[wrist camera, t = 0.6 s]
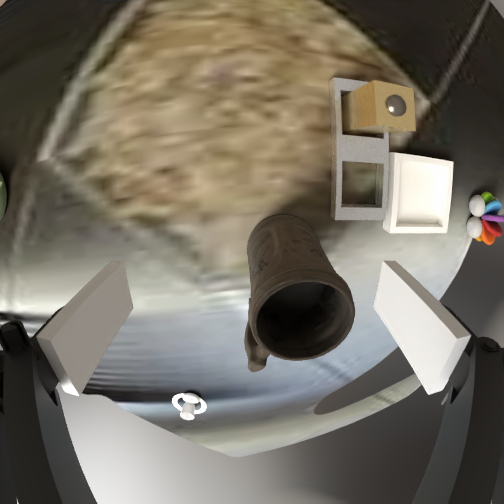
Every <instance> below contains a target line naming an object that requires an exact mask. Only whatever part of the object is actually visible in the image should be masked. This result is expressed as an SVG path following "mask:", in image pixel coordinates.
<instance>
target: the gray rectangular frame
mask: <svg viewBox="0 0 504 504" xmlns="http://www.w3.org/2000/svg"><path fill="white" fill-rule="evenodd" d="M367 83H369V82H364V81H358V80H351V79H343V78H335V77H334V78H332V79H331V80H330V81H329V92H330V112H331V156H332V169H331V213H330V216H331V217H332V218H333V219H335V220H385V219H386V208H387V193H388V170H389V133H380V134H377V138H372V137H362V136H351V135H342V116H341V95H340V94H346V95H347V94H348V93H350V92H352V91H354V90H356V89H358V88H359V87H361V86H363V85H365V84H367ZM342 161H352V162H367V163H377V166H376V193H375V205H372V204H341V201H342Z"/></svg>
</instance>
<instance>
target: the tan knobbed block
mask: <svg viewBox="0 0 504 504" xmlns="http://www.w3.org/2000/svg"><path fill="white" fill-rule="evenodd" d="M341 116H342V131H344V132H356V133H366V134H380V133H393V132H409V131H416V128H415V106H414V93H413V88H409V87H405V86H401V85H396V84H392V83H387V82H382V81H377V80H373V81H371V82H369V83H367V84H365V85H363V86H361V87H359V88H358V89H356V90H354V91H352V92H350V93H348V94H347V95H345V96H343V97H341Z"/></svg>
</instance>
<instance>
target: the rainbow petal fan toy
mask: <svg viewBox="0 0 504 504" xmlns="http://www.w3.org/2000/svg"><path fill="white" fill-rule="evenodd" d="M501 207H502V204H501V202H500V201H499V200H498V199H497V198H496V197H494V196H492V194H491V193H489V192H484V193H482V194H481V196H480V195H475V196H473V197H472V198H471V199H470V202H469V209H470V211H471V213H472V214H473V215H474V216H473V217H471V218H470V219H469V220H468V222H467V225H466V229H467V232H468V234H469V235H470V236H471V237H473V238H476V240H478V241H483V240H484V242H485V243H486V244H488V245H490V244H492V243H493V242H494V240H495V236H497V237H500V236H501V235H502V229H501V227H500V226H499V224H498V223H497V222H504V216H500V215H498V214H499V213H500V210H501ZM478 217H481V218H482V219H480V218H478Z"/></svg>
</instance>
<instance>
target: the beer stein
mask: <svg viewBox="0 0 504 504" xmlns="http://www.w3.org/2000/svg"><path fill="white" fill-rule="evenodd" d="M247 254H248V263H249V270H250V283H251V298H249V310H248V323H247V327H246V332H245V340H244V343H245V350H246V353H247V356H248V369H249V370H250V371H251V372H257V371H260V370H262V369H263V368H264V367H265V366H266V361H267V357H268V356H269V355H270V354H271V355H273V356H275V357H278V358H281V359H284V360H292V361H302V360H308V359H313V358H316V357H319V356H322V355H325V354H326V353H328V352H330V351H331V350H333V349H335V348H336V347H337V346H338V345H339V344H340V343H341V342H342V341H343V340H344V339H345V338H346V337H347V335H348V333H349V332H350V330H351V328H352V325H353V322H354V317H355V306H354V302H353V298H352V294H351V291H350V289H349V287H348V285H347V283H346V282H345V281H344V280H343V279H342V277H340V276H339V275H338V274H337V273H336V272H335V270H334V269H333V267H332V265H331V263H330V262H329V260H328V258H327V256H326V254H325V253H324V251H323V249H322V247H321V245H320V242H319V240H318V238H317V236H316V235H315V233H314V231H313V229H312V228H311V227H310V226H309V225H308V224H307V223H306V222H305V221H304V220H302V219H300V218H298V217H295V216H291V215H276V216H273V217H269V218H267V219H265V220H264V221H262V222H261V223H259V224H258V225H257V226H256V227H255V229H254V230H253V232H252V233H251V235H250V238H249V240H248V246H247Z"/></svg>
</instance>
